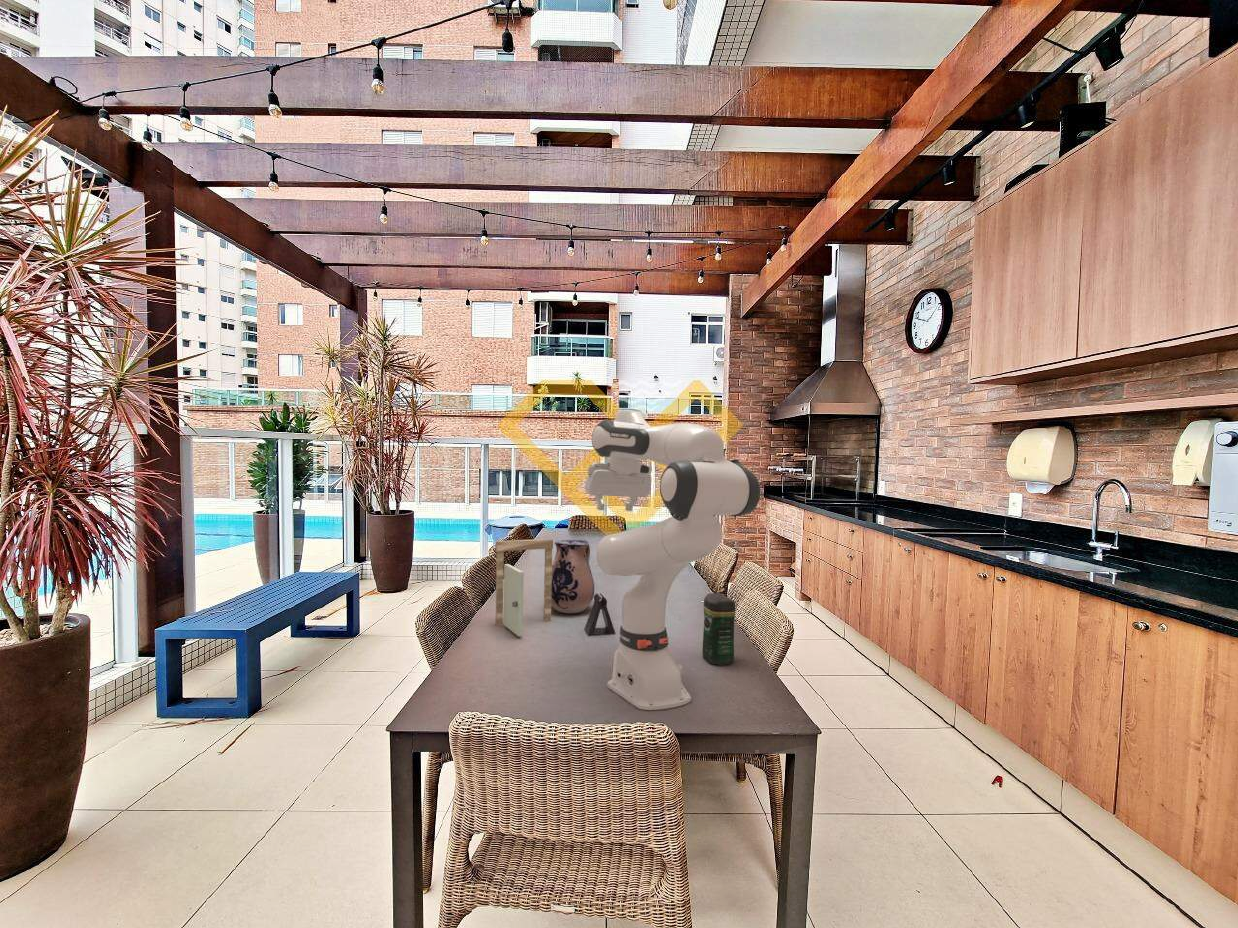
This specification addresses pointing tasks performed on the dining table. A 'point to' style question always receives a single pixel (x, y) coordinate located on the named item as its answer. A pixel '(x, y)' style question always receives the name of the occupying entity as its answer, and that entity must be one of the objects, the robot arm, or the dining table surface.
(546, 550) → the door frame
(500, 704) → the dining table surface
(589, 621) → the phone stand
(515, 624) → the door
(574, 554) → the ceramic pitcher
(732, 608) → the coffee jar
